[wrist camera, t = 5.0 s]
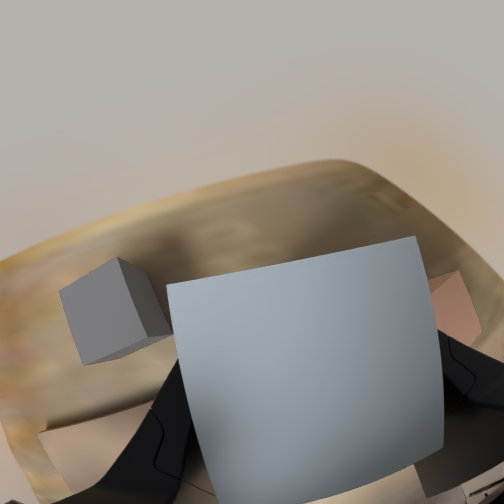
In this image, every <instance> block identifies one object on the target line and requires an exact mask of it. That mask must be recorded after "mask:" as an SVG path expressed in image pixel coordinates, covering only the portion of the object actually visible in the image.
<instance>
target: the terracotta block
mask: <svg viewBox="0 0 504 504" xmlns="http://www.w3.org/2000/svg"><path fill="white" fill-rule="evenodd" d="M428 285H429V289H430V294H431V298H432V303H433V308H434V314H435V319H436V325H437V329H439V330H440V331H442V332H444V333H445V334H447V336H451V337H452V338H454V339H456V340H458V341H459V342H461V343H463V344H465V345H467V346H470V345H471V344H472V343H473V342H474V340H475V339H476V338H477V337H478V336H479V335H480V334H481V332H482V328H481V325H480V322H479V319H478V316H477V314H476V311H475V308H474V305H473V303H472V300H471V298H470V295H469V293H468V290H467V288H466V285H465V283H464V281H463V278H462V276H461V274H460V272H459V270H456V271H454V272H451V273H448V274H444V275H441V276H438V277H435V278H432V279H429V280H428Z"/></svg>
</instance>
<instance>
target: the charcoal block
mask: <svg viewBox="0 0 504 504" xmlns="http://www.w3.org/2000/svg"><path fill="white" fill-rule="evenodd" d="M59 293H60V297H61V301H62V304H63V308H64V311H65V315H66V318H67V321H68V324H69V327H70V330H71V333H72V336H73V339H74V342H75V345H76V347H77V350H78V353H79V355H80V358H81V360H82V363H83V365H84V366H85V365H91V364H96V363H101V362H106V361H110V360H115V359H119V358H122V357H124V356H126V355H129V354H131V353H133V352H135V351H138V350H140V349H142V348H144V347H147V346H149V345H151V344H153V343H155V342H158V341H160V340H162V339H164V338H166V337H168V336H171V335H173V333H172V330H171V328H170V326H169V324H168V322H167V320H166V317H165V315H164V313H163V311H162V308H161V306H160V304H159V301H158V299H157V297H156V294H155V292H154V289H153V287H152V284H151V282H150V279H149V277H148V274H147V272H145V271H143V270H141V269H139V268H137V267H136V266H134V265H132V264H130V263H128V262H126V261H124V260H122V259H120V258H118V257H115V258H114V259H112V260H110V261H108V262H107V263H105V264H103V265H101V266H100V267H98V268H96V269H95V270H93V271H91V272H89V273H88V274H86V275H84V276H83V277H81V278H79V279H78V280H76V281H74V282H73V283H71V284H69V285H68V286H66V287H65V288H63V289H61V290H60V291H59Z"/></svg>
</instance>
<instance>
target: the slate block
mask: <svg viewBox="0 0 504 504" xmlns="http://www.w3.org/2000/svg"><path fill="white" fill-rule="evenodd" d="M166 287H167V294H168V301H169V308H170V314H171V321H172V327H173V332H174V338H175V343H176V349H177V354H178V359H179V364H180V369H181V374H182V378H183V383H184V387H185V391H186V396H187V400H188V404H189V408H190V412H191V416H192V420H193V424H194V427H195V431H196V434H197V438H198V441H199V445H200V448H201V452H202V455H203V458H204V461H205V465H206V468H207V471H208V474H209V477H210V480H211V483H212V486H213V488H214V491H215V494H216V497H217V499H218V502H219V504H302V503H307V502H311V501H315V500H319V499H323V498H327V497H330V496H334V495H337V494H340V493H343V492H346V491H349V490H352V489H355V488H358V487H361V486H364V485H366V484H369V483H372V482H374V481H377V480H379V479H382V478H384V477H386V476H389V475H391V474H393V473H395V472H397V471H400V470H402V469H404V468H406V467H408V466H410V465H412V464H414V463H416V462H418V461H420V460H422V459H423V458H425V457H427V456H429V455H431V454H432V453H434V452H436V451H438V450H439V449H441V448H443V441H444V392H443V376H442V364H441V354H440V346H439V339H438V332H437V325H436V319H435V314H434V308H433V303H432V298H431V294H430V289H429V285H428V280H427V276H426V272H425V268H424V264H423V261H422V257H421V253H420V250H419V246H418V243H417V240H416V236H410V237H406V238H401V239H397V240H392V241H387V242H383V243H378V244H373V245H369V246H364V247H359V248H354V249H350V250H345V251H340V252H335V253H330V254H326V255H321V256H316V257H311V258H306V259H301V260H296V261H291V262H286V263H281V264H275V265H270V266H265V267H260V268H255V269H250V270H244V271H239V272H234V273H228V274H223V275H218V276H212V277H207V278H201V279H196V280H190V281H185V282H179V283H174V284H168V285H166Z"/></svg>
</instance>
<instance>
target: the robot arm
mask: <svg viewBox="0 0 504 504" xmlns="http://www.w3.org/2000/svg"><path fill="white" fill-rule="evenodd" d="M437 332H438V339H439V346H440V354H441V364H442V376H443V392H444V441H443V448H441V449H439V450H438V451H436V452H434V453H432V454H431V455H429V456H427V457H425V458H423V459H422V460H420V461H418V462H416V463H414V466H415V469H416V471H417V474H418V476H419V479H420V482H421V485H422V487H423V490H424V493H425V495H426V498H430V497H432V496H435V495H438V494H440V493H443V492H445V491H447V490H450V489H452V488H454V487H457V486H459V485H461V488H462V490H463V493H464V495H465V498H466V502H467V504H504V363H502V362H500V361H498V360H496V359H494V358H491V357H489V356H487V355H485V354H483V353H481V352H479V351H477V350H475V349H473V348H471V347H469V346H467V345H465V344H463V343H461V342H459V341H458V340H456V339H454V338H452V337H451V336H447V334H445V333H444V332H442V331H440V330H439V329H437ZM5 504H23V503H21V502H18V501H16V500H10V501H9V502H7V503H5ZM52 504H219V502H218V499H217V497H216V494H215V491H214V488H213V486H212V483H211V480H210V477H209V474H208V471H207V468H206V465H205V461H204V458H203V455H202V452H201V448H200V445H199V441H198V438H197V434H196V431H195V427H194V424H193V420H192V416H191V412H190V408H189V404H188V400H187V396H186V391H185V387H184V383H183V378H182V374H181V369H180V364H179V359H177V361H176V363H175V365H174V366H173V368H172V370H171V372H170V373H169V375H168V377H167V379H166V380H165V382H164V384H163V386H162V387H161V389H160V391H159V393H158V395H157V396H156V398H155V400H154V402H153V403H152V405H151V409H149V410H148V412H147V414H146V416H145V417H144V419H143V421H142V423H141V424H140V426H139V428H138V429H137V431H136V432H135V434H134V435H133V437H132V438H131V440H130V441H129V443H128V444H127V446H126V447H125V448H124V450H123V451H122V452H121V454H120V455H119V456H118V458H117V459H116V460H115V462H114V463H113V464H112V466H111V467H110V469H109V470H108V471H107V473H106V474H105V475H104V476H103V477H102V478H101V479H100V480H99V481H98V482H97V483H96V484H94V485H93V486H91V487H89V488H87V489H85V490H83V491H81V492H79V493H76V494H74V495H72V496H69V497H67V498H65V499H62V500H60V501H57V502H55V503H52Z"/></svg>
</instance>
